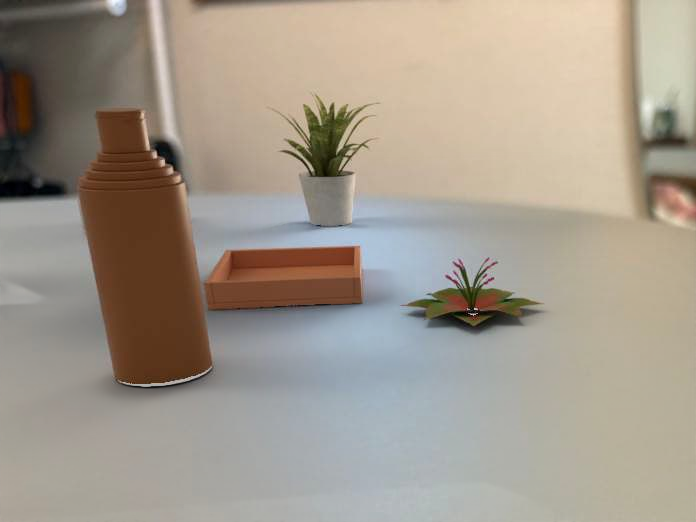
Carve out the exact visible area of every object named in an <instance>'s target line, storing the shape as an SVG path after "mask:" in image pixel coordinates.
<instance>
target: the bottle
mask: <svg viewBox="0 0 696 522" xmlns="http://www.w3.org/2000/svg"><path fill="white" fill-rule="evenodd" d="M146 113H147V112H146V110H144V108H133V107H132V108H131V107H126V108H125V107H120V108H117V107H115V108H114V107H113V108H100V109H95V110H94V114H93V117H94V118H95V120H96V126H97V132H98V137H99V143H100V148H101V150H98V151H96V153H95V156H96V158H93V159H91V160H90V166H88V167H86V168H85V169H84V174H83V175H81V176H79V177H78V181H79V184H77V186H76V190H77V194H78V199H79V200H80V205H81V210H82V215H83V220H84V225H85V230H86V231H85V230H84V231H85V235H86V240H87V246H88V250H89V255H90V261H91V266H92V271H93V276H94V280H95V285H96V290H97V296H98V301H99V305H100V309H101V310H100V311H101V315H102V320H103V325H104V330H105V335H106V340H107V341H106V342H107V346H108V350H109V355H110V360H111V366H112V370H113V375H114V379H115V378H116V379H117V380H119V381H121V382H126V383H130V384H131V383H132V384H151V383H165V382H170V381H175V380H180V379H185V378H188V377H191V376H196V375H198V374H201V373H203V372H205V371H206V370H208V369H209V368H210V367H211V366H212V364H213V357H212V351H211V344H210V337H209V332H208V325H207V324H208V323H207V319H206V312H205V306H204V305H205V304H204V299H203V291H202V285H201V278H200V271H199V265H198V258H197V251H196V245H195V238H194V231H193V225H192V217H191V211H190V205H189V197H188V192H187V185H186V181H185V179H183V178H182V175H181V172H179V171H176V170H174V166H173V165H172V164H170V163H166V159H165V157H163V156H160V155H159V156H158V152H157V150H156V149H154V148H151V146H150V139H149V133H148V128H147V122H146V120H148V119H147V116H145V115H146ZM212 367H213V366H212ZM116 379H115V380H116ZM117 380H116V381H117Z"/></svg>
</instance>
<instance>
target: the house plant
mask: <svg viewBox="0 0 696 522" xmlns="http://www.w3.org/2000/svg"><path fill="white" fill-rule="evenodd" d="M309 93H310V94H311V95H312V98H313V99H314V102H315V104H316V108H317V110H318V114H319V117H318V115H316V114H315V112H314V111H312V108H311V107H310V106H309V105H307V104H305V103H303V104H302V107H303V110H304V115H305V119H306V123H307V128H308V129H307V130H308V133H309V137H308V136H307V134H306V133H305V131H304V130H303V128H301V126H300V125H299V123H298V122H297V121H296V119H295V118H293V117H292V115H291V114H288V116H289V117H290V118H291V120H292V121H293V122H292V121H291V120H290V119H289V118H287V117H286V116H285V115H283V114H282V113H281V112H280V111H278V110H276V109H274V108H272V107H268V106H266V108H267V109H269V110H272V111H274V112H276V113H277V114H279V115H280V116H282V118H284V119H285V120H286V121H287V122H288V123H289V124H290V125H291V126H292V127H293V128H294V130H295V131H296V132H297V134H298V135H299V136H300V138H301V139H302V140H303V142H304V143H305V145H306V146H307V147H305V146H303V145H301V144H299V143H298V142H296V141H294V140H292V139H289V138H283V140H284V141H285V142H287V143H288V144H289V145H290V146H291V148H293V149H294V152H293V151H291V150H287V149H282V150H279V151H278V152H276V153H285V154H287V155H290V156H292V157H294V158H296V159H297V160H298V161H299V162H301V163H302V165H304V166H305V168H306V170H307V171H303V172H300V173H299V174H298V178H299V182H300V186H301V190H302V194H303V198H304V201H305V205H306V210H307V213H308V217H309V221H310V224H311V225H312V224H313V225H312V226H316V225H321V226H320V227H340V226H339V225H342V226H347V225H350V224H352V221H353V212H354V211H353V209H354V196H355V186H356V172H354V171H351V170H344V169H345V167H346V165H347V164H348V163H349V161H351V162H353V160H352V158H353V156H354V155H356V154H357V153H358V151H359V150H360V149H361V148H362V147H364V148H366V149H368V150H369V151H371V149H370V148H369V146H368V145H367V143H368V142H370V141H373V140H374V138H370V139H369V138H368V139H367V140H365V141H363V142H362V143H360V144H359V143H349V144H348V142H349V140H350V138H351V136H352V134H353V133H354V131H355V130H356V128H357V127H358V126H359V125H360V124H361V123H362V122H363V121H364V120H365V119H367V118H369V117H376V116H377V114H369V115H366V116H364V117H362V118H360V119H359V120H358V121H357V122H356V123H355V125H354V126H353V127H352V129H351V131H350V132H349V134H348V136H347V138H346V140H345V142H344V144H343V146H342V148H341V149H339V146H340V144H341V141H342V139H343V136H344V135H345V132H346V131H347V129H348V127H349V126H350V124H351V123H352V122H353V119H355V118H356V116H357V115H358V114H359V113H360V112H361V111H363V110H364V109H366V108H367V107H370V106H373V105H378V104H380V102H373V103H368V104H365V105H362V106H358V107H356V108H353V109H351V110H350V111H347V107H349V104H350V103H346V104H344V105H342V106H341V107H340V108H339V109H338V111H337V113H335V103H336V102H335V101H334V102H332V103H331V104H330V105H329V110H327V107H326V106H325V104H324V103H323V100H321V98H320V97H319V96H318V95H317V94H316V92H314V94H313V93H312V92H311V91H309ZM335 114H336V116H335ZM319 118H320V120H319ZM320 122H321V123H320ZM379 139H380V138H377V137H376V138H375V140H379ZM353 146H357V147H353ZM338 149H339V150H338ZM296 151H297V152H299V154H300V155H301V156H300V155H299V154H297V153H296ZM350 151H353V152H352V153H351V154H350V155H349V154H348V153H349V152H350ZM302 157H303V158H304V159H305V160H306V161H307V162H308V163H309V164H310V166H311V168H312V169H313V170H311V168H310V166H309V165H308V163H307V162H306V161H305V160H304V159H303V158H302ZM345 158H346V159H347V160H346V161H344V164H343V165H342V163H343V160H344V159H345ZM341 166H342V167H341ZM340 167H341V168H340ZM349 223H350V224H349ZM346 224H347V225H346Z"/></svg>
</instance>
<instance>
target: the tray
mask: <svg viewBox="0 0 696 522" xmlns="http://www.w3.org/2000/svg"><path fill="white" fill-rule="evenodd" d="M203 286H204V293H205V299H206V306H207V310H208V311H212V310H213V311H214V310H217V311H218V310H235V309H236V310H238V309H237V308H240V309H258V308H260V307H263V308H276V307H275V306H286V307H290V306H289V305H293V306H292V307H298V306H297V305H309V306H316V305H315V304H331V305H348V304H349V305H350V304H351V305H352V303H354V304H363V262H362V247H361V245H341V246H340V245H339V246H337V245H336V246H335V245H334V246H310V247H309V246H308V247H307V246H306V247H303V246H302V247H277V248H275V247H273V248H247V249H246V248H245V249H244V248H243V249H226V250H225V251H224V252H223V254H222V255H221V257H220V259H219V260H218V261H217V263H216V264H215V266H214V268H213V269H212V270H211V272H210V274H209V275H208V277H207V278H206V280H205V281H204V282H203ZM287 305H288V306H287ZM295 305H296V306H295ZM260 309H261V308H260Z"/></svg>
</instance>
